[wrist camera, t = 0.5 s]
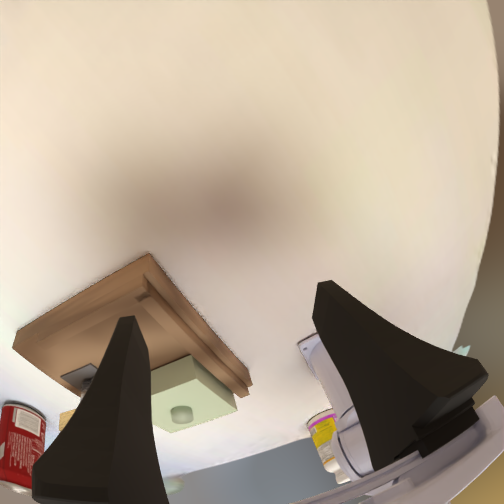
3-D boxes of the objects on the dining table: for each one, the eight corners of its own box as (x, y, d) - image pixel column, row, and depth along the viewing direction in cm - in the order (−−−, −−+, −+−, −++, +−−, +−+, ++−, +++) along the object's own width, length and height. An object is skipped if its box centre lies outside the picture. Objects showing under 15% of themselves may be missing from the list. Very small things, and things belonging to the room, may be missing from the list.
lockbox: (248, 370, 32) (255, 394, 29) (132, 413, 32) (133, 435, 30) (149, 253, 21) (148, 282, 18) (17, 331, 21) (8, 358, 19)
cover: (232, 390, 29) (240, 419, 27) (168, 413, 30) (172, 441, 27) (191, 354, 25) (197, 389, 22) (120, 383, 25) (120, 415, 22)
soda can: (16, 395, 26) (7, 481, 17) (55, 419, 30) (53, 498, 21) (-4, 404, 27) (-13, 480, 17) (31, 425, 31) (28, 497, 21)
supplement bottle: (346, 410, 48) (375, 468, 38) (316, 427, 49) (340, 485, 39) (333, 404, 44) (364, 469, 34) (299, 423, 45) (326, 487, 35)
